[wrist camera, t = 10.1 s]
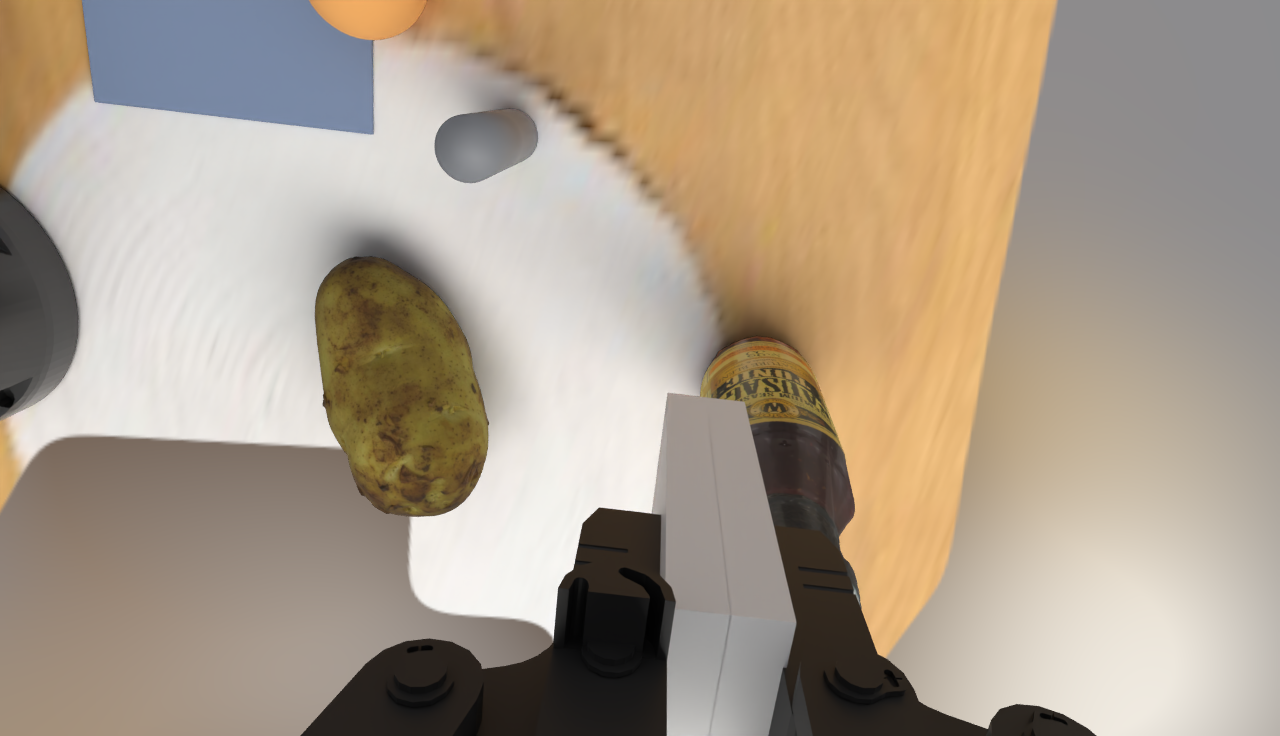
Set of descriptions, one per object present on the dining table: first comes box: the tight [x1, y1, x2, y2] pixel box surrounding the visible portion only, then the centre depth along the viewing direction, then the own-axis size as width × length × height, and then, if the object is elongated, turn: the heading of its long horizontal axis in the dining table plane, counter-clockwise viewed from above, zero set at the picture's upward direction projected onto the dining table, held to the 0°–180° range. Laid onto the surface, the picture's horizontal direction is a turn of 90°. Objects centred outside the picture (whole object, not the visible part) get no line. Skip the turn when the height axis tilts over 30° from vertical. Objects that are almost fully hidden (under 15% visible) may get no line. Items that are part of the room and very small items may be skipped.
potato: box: [315, 256, 489, 517], centre depth 39 cm, size 8×13×8 cm, turn 2°
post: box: [435, 109, 538, 183], centre depth 35 cm, size 3×3×9 cm
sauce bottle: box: [700, 336, 861, 608], centre depth 33 cm, size 6×6×20 cm
